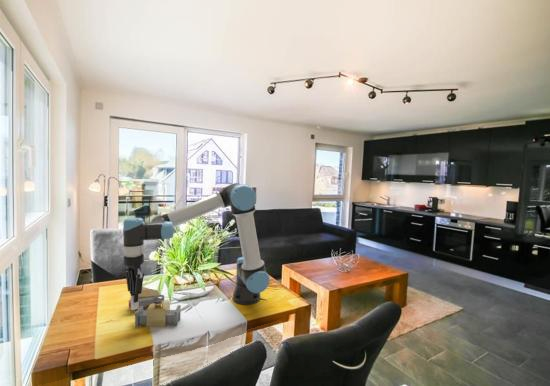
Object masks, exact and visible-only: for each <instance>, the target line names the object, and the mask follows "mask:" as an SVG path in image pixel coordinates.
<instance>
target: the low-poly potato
mask: <svg viewBox="0 0 550 386" xmlns="http://www.w3.org/2000/svg"><path fill="white" fill-rule="evenodd" d="M158 291H159V290H158V289H152V288H149V287H145V286H142V293H141V294H139V299H143V298H149V297H154V296H156V295H161V294H160V292H158ZM129 300H131V297H130V299H129ZM142 306H143V309H146V308H148V307H149V306H150V304H147V305H142ZM139 307H140V306H139ZM138 309H139V308H138ZM138 309H137V310H138Z"/></svg>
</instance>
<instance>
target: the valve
mask: <svg viewBox="0 0 550 386" xmlns="http://www.w3.org/2000/svg"><path fill="white" fill-rule="evenodd" d="M170 305H171V302H170V301H164V302H163V303H160V304H154V303H153V304H150V305H149V306H147V307H146V308H147V309H146V310H144V308H143V306H140V307H139V309H136V311H135V312H134V327H135V328H138V327H142V326H146V327H147V328H155V327H156V328H158V327H159V326H165V327H166V326H172V325H171V324H174V325H177V326H178V325H179V323H180V321H179V320H181V318H182V317H181V315H182V313H181V312H182V311H181V310H182V309H181V308H182V307H181V304H179V305H178V304H177V307H175V309H170V308H171V306H170ZM178 322H179V323H178ZM174 325H173V326H174ZM157 326H158V327H157Z"/></svg>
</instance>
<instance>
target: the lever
mask: <svg viewBox="0 0 550 386" xmlns="http://www.w3.org/2000/svg"><path fill="white" fill-rule="evenodd" d="M163 302H165V295H164V294H160V295H156V296H154V297H149V298H143V299H139V306H142V305H147V304H153V303H154V304H160V303H163ZM128 309H131V300H130V299H128Z"/></svg>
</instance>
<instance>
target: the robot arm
mask: <svg viewBox="0 0 550 386" xmlns="http://www.w3.org/2000/svg"><path fill="white" fill-rule="evenodd" d="M256 202H257V194H256V192H255V190H254V189H253V188H252V187H251V186H250V185H247V184H245V183H238V182H235V183H231V184H229V185H227V186H225V187H222V188H220V189H218V190H216V191H215V193H213V194H211V195H209V196H206V197H203V198H202V199H199V200H196V201H194V202H192V203H189V204H187V205H184V206H182V207H180V208H177V209H175V210H172V211H170V212H167V213H165V214H162V215H156V216H154V217H153V218H152V219H151V221H150V222H145V221H144V219H143V218H142V217H129V218H126V219H124V221H123V229H122V234H123V235H122V236H123V255H124V256H123V264H124V266H126V267H125V268H124V273H125V278H126V286H127V291H128V292H129V294H130V298H131V308H130V310H131V311H134V310H138V308H139V294H141V293H142V287H143V283H144V277H145V272H144V273H142V272H141V271H142V267H141V265H143V263H144V262H145V258H144V257H145V255H144V249H145V245H144V244H145V243H144V241H153V240H168V239H172V238H173V237H174V228H175V227H177V226H180V225H183V224H186V223H187V222H190V221H192V220H194V219H196V218H199V217H201V216H203V215H206V214H208V213H211V212H213V211H216V210H218V209H220V208H222V209H225V208H227V207H230V211H231V215H232V216H234V217H235V220H236V227H237V232H238V237H239V243H240V248H241V255H242V256H241V257H238V258H237V259H236V280H235V281H236V283H235V287H234V290H233V292H232V300H233V301H234V302H235V303H237V304H241V305H253V304H255V303H257V302H260V299H261V293H263V292H264V291H265V290H266V289H267V288H268V287H269V285H270V282H271V278H270V276H269V274H268V272H267V270H266V264H265V261H264V260H263V259H261V253H260V246H259V241H258V240H259V239H258V236H257V230H256V229H257V228H256V224H255V216H254V213H255V212H256Z"/></svg>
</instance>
